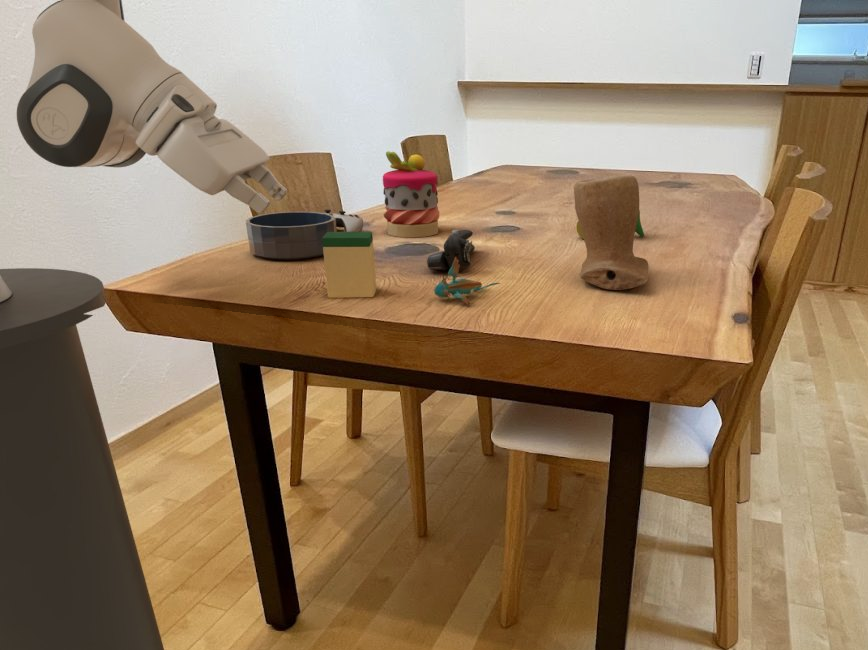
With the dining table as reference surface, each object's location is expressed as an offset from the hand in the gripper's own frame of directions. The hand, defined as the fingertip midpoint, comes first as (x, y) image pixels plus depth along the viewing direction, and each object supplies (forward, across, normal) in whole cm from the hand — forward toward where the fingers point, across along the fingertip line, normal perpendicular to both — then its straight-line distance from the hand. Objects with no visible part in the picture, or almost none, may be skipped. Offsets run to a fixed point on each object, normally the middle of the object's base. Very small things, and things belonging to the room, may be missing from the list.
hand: (275, 202), depth 85 cm
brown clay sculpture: (+41, -6, +23) cm, 48 cm away
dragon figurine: (+26, +3, +8) cm, 27 cm away
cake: (+19, -42, +2) cm, 46 cm away
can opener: (+25, -17, +8) cm, 32 cm away
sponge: (+15, 0, -2) cm, 15 cm away
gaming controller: (+9, -40, -8) cm, 42 cm away
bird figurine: (+47, -38, +29) cm, 67 cm away
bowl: (+6, -25, -12) cm, 28 cm away
